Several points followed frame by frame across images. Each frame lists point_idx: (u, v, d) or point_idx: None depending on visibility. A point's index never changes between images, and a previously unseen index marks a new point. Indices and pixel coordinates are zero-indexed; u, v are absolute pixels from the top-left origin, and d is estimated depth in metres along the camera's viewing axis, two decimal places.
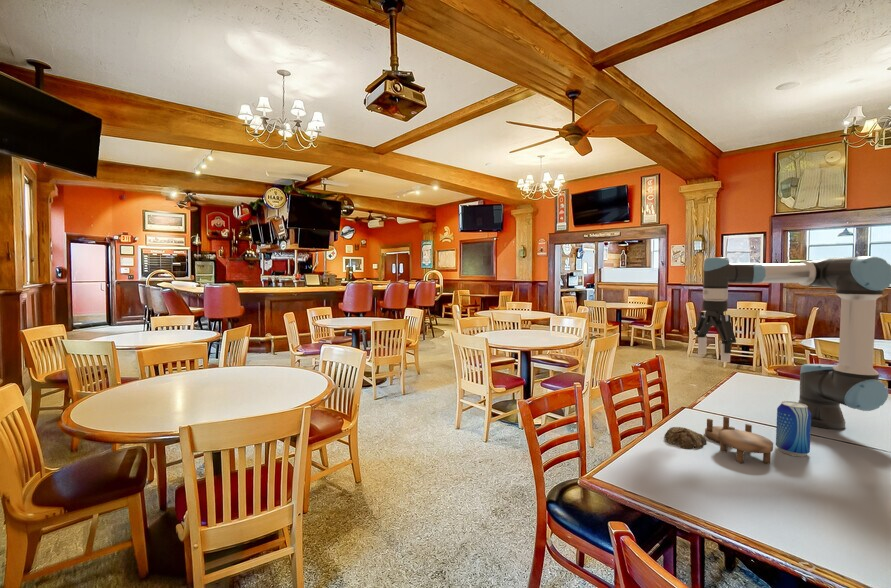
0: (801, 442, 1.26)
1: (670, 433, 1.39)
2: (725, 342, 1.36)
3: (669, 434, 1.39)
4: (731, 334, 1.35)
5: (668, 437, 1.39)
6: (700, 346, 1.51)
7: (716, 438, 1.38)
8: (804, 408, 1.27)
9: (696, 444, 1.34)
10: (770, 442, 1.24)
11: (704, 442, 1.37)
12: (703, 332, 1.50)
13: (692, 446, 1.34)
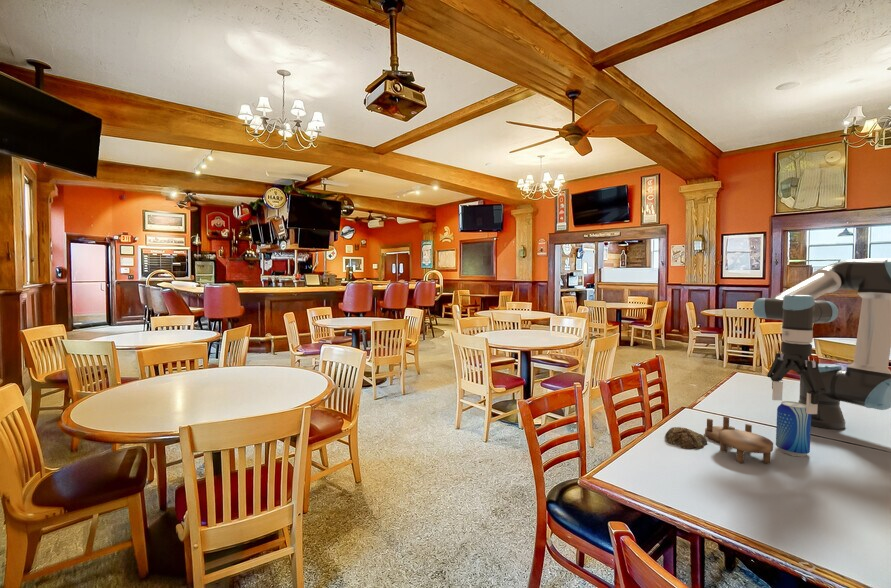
0: (801, 442, 1.26)
1: (671, 433, 1.39)
2: (813, 392, 1.21)
3: (670, 434, 1.39)
4: (821, 383, 1.20)
5: (669, 437, 1.38)
6: (775, 391, 1.36)
7: (716, 438, 1.38)
8: (804, 408, 1.27)
9: (697, 444, 1.33)
10: (770, 442, 1.24)
11: (705, 442, 1.36)
12: (779, 376, 1.35)
13: (693, 446, 1.34)
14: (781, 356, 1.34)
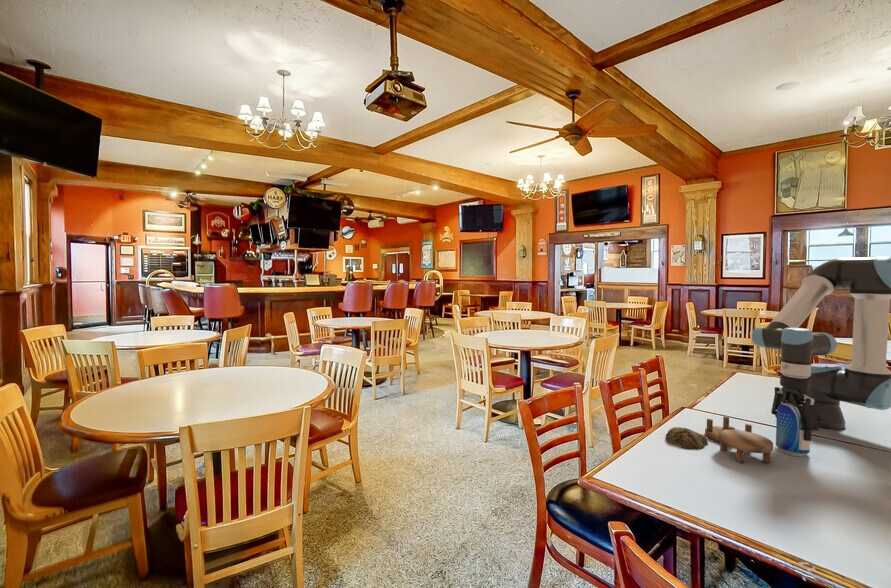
0: None
1: (671, 433, 1.39)
2: (805, 429, 1.24)
3: (670, 434, 1.39)
4: (814, 421, 1.23)
5: (669, 437, 1.38)
6: None
7: (716, 438, 1.38)
8: None
9: (697, 444, 1.33)
10: (770, 442, 1.24)
11: (705, 442, 1.36)
12: None
13: (693, 446, 1.33)
14: (780, 389, 1.35)
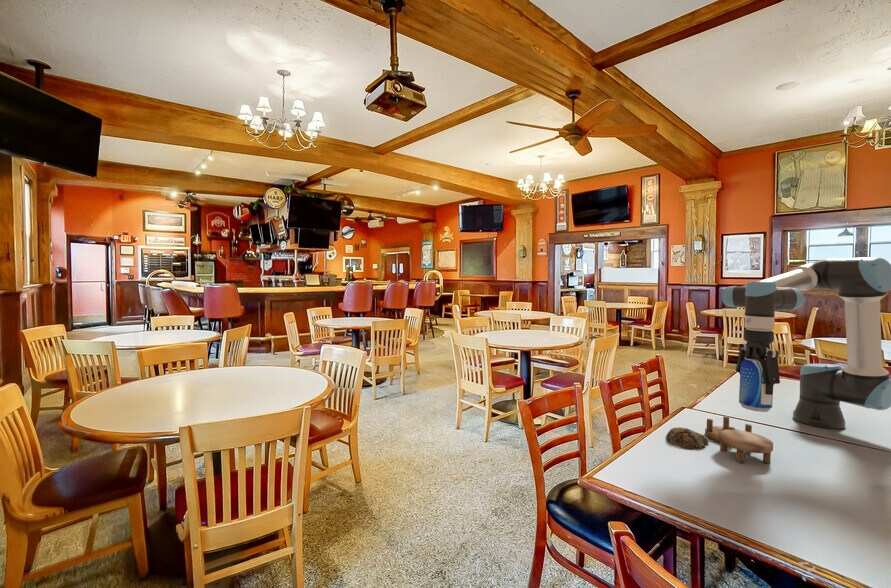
0: None
1: (672, 434, 1.39)
2: (767, 383, 1.21)
3: (671, 435, 1.39)
4: (776, 374, 1.19)
5: (670, 438, 1.38)
6: None
7: (716, 438, 1.38)
8: None
9: (698, 445, 1.33)
10: (770, 442, 1.24)
11: (706, 443, 1.36)
12: None
13: (694, 447, 1.33)
14: (744, 346, 1.32)
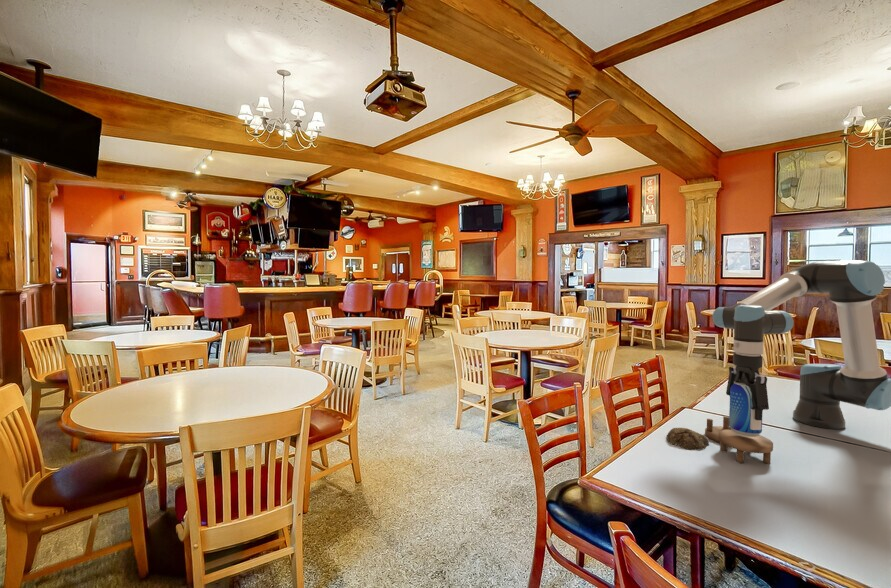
0: None
1: (672, 434, 1.39)
2: (756, 408, 1.21)
3: (671, 435, 1.39)
4: (765, 400, 1.19)
5: (670, 438, 1.38)
6: None
7: (716, 438, 1.38)
8: None
9: (698, 445, 1.33)
10: (770, 442, 1.24)
11: (706, 443, 1.36)
12: None
13: (694, 447, 1.33)
14: (734, 369, 1.32)
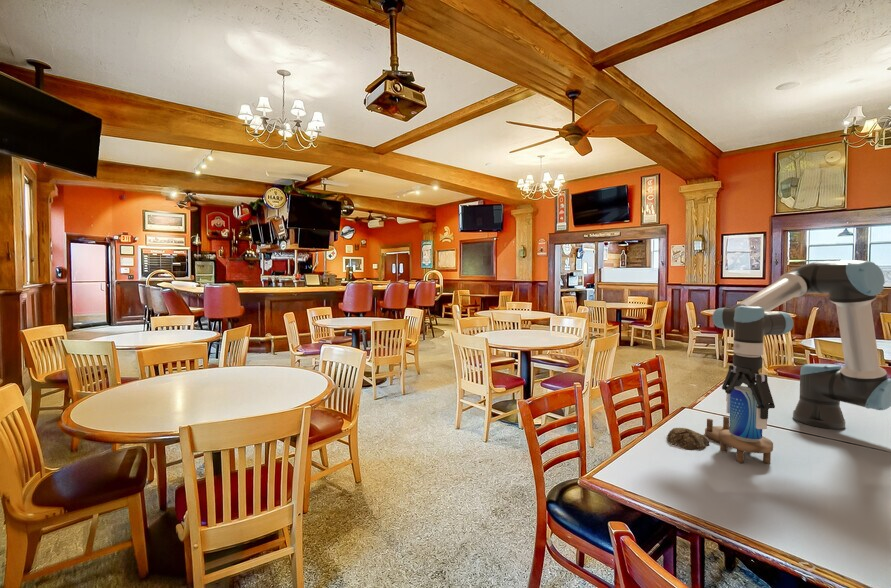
0: (753, 427, 1.23)
1: (673, 434, 1.39)
2: (761, 407, 1.19)
3: (672, 435, 1.39)
4: (769, 398, 1.18)
5: (671, 438, 1.38)
6: (729, 404, 1.33)
7: (716, 438, 1.38)
8: None
9: (699, 445, 1.33)
10: (770, 442, 1.24)
11: (707, 443, 1.36)
12: (733, 388, 1.32)
13: (695, 447, 1.33)
14: (734, 368, 1.32)
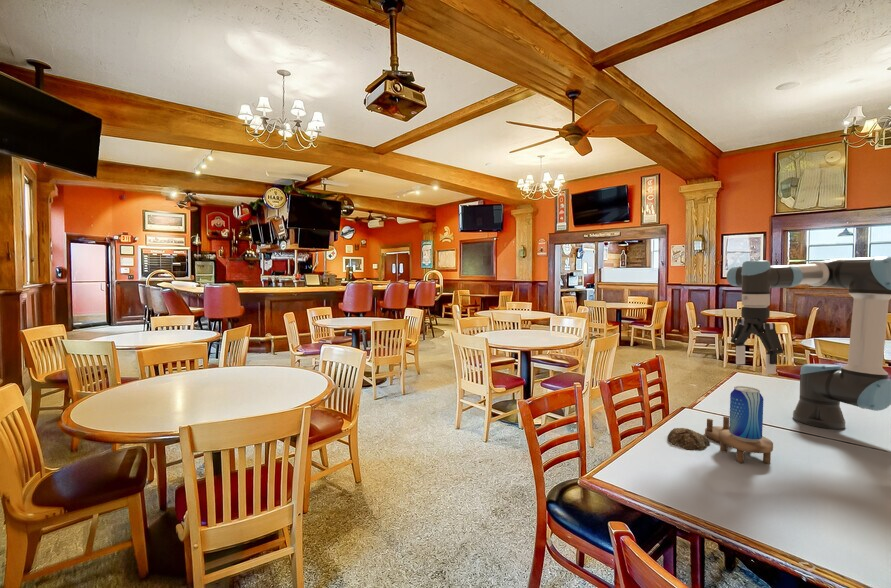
0: (753, 427, 1.23)
1: (673, 434, 1.38)
2: (770, 352, 1.26)
3: (672, 435, 1.38)
4: (778, 344, 1.25)
5: (671, 438, 1.38)
6: (738, 355, 1.41)
7: (716, 438, 1.38)
8: (756, 393, 1.23)
9: (699, 445, 1.33)
10: (770, 442, 1.24)
11: (707, 443, 1.36)
12: (741, 340, 1.40)
13: (695, 447, 1.33)
14: (742, 321, 1.39)
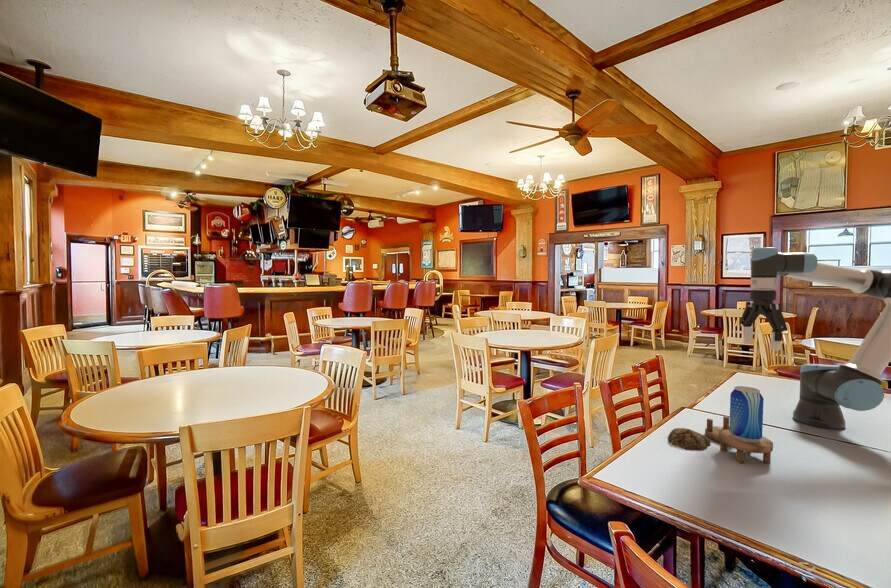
0: (753, 427, 1.23)
1: (674, 434, 1.38)
2: (776, 330, 1.39)
3: (673, 435, 1.38)
4: (782, 322, 1.38)
5: (672, 438, 1.38)
6: (746, 335, 1.53)
7: (716, 438, 1.38)
8: (756, 393, 1.23)
9: (700, 445, 1.33)
10: (770, 442, 1.24)
11: (708, 443, 1.36)
12: (749, 321, 1.53)
13: (696, 447, 1.33)
14: (751, 303, 1.52)
